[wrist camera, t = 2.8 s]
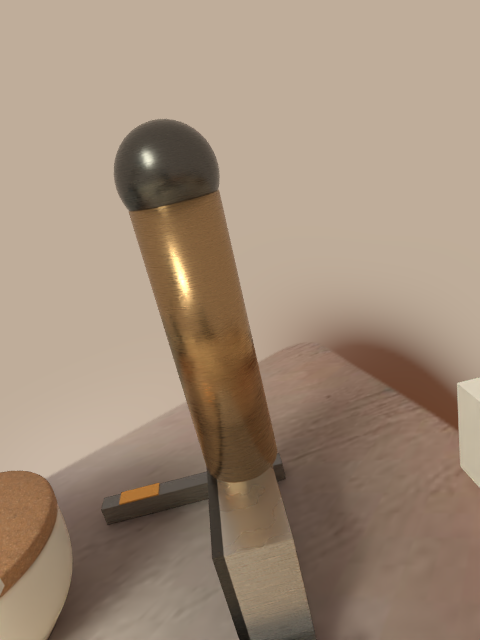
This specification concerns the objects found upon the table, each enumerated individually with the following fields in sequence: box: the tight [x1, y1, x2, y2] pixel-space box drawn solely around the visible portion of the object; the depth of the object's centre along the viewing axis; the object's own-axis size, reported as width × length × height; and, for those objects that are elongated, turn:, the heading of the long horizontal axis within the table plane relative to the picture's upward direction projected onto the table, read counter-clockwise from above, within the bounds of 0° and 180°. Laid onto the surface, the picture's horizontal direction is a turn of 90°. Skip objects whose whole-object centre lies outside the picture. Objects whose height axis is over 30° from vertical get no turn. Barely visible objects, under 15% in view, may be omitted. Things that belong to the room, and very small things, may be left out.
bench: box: [101, 453, 286, 524], centre depth 24 cm, size 29×15×10 cm, turn 97°
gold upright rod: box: [114, 119, 316, 640], centre depth 22 cm, size 4×12×25 cm, turn 7°
